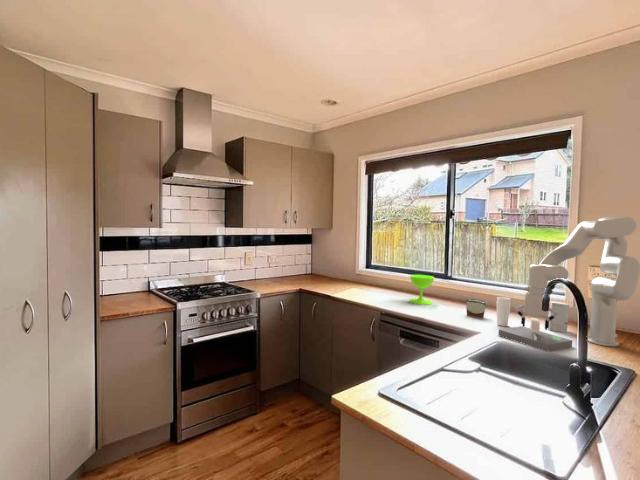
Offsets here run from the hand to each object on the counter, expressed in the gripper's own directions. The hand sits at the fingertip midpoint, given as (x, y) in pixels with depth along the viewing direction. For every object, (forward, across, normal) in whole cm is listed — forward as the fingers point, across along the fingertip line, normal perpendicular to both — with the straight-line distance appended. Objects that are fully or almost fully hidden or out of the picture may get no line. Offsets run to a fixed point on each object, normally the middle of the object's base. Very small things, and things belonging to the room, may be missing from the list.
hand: (534, 327), depth 170 cm
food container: (+7, -28, +36) cm, 46 cm away
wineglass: (+7, -65, +56) cm, 86 cm away
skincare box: (+7, +12, +31) cm, 34 cm away
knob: (+3, 0, -3) cm, 4 cm away
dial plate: (+6, 0, 0) cm, 6 cm away
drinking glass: (+7, -14, +23) cm, 28 cm away
